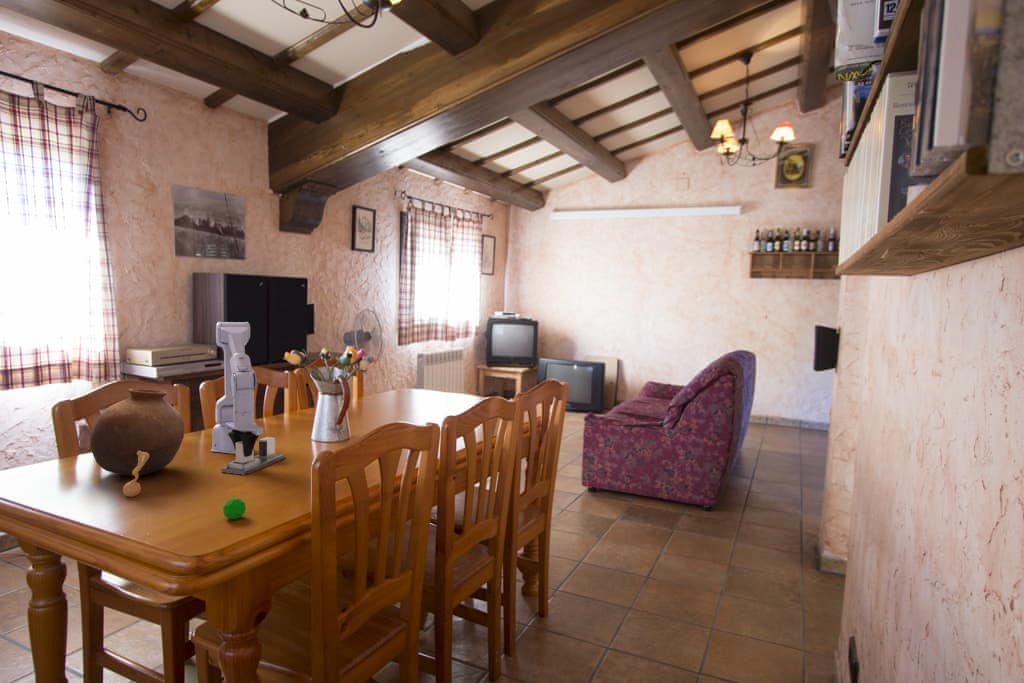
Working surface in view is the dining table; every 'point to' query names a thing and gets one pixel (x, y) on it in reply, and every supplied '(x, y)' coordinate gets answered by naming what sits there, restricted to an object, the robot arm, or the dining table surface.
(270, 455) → the grey divided tray
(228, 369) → the robot arm
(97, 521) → the dining table surface
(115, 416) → the pottery
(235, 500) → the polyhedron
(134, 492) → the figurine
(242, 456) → the block
